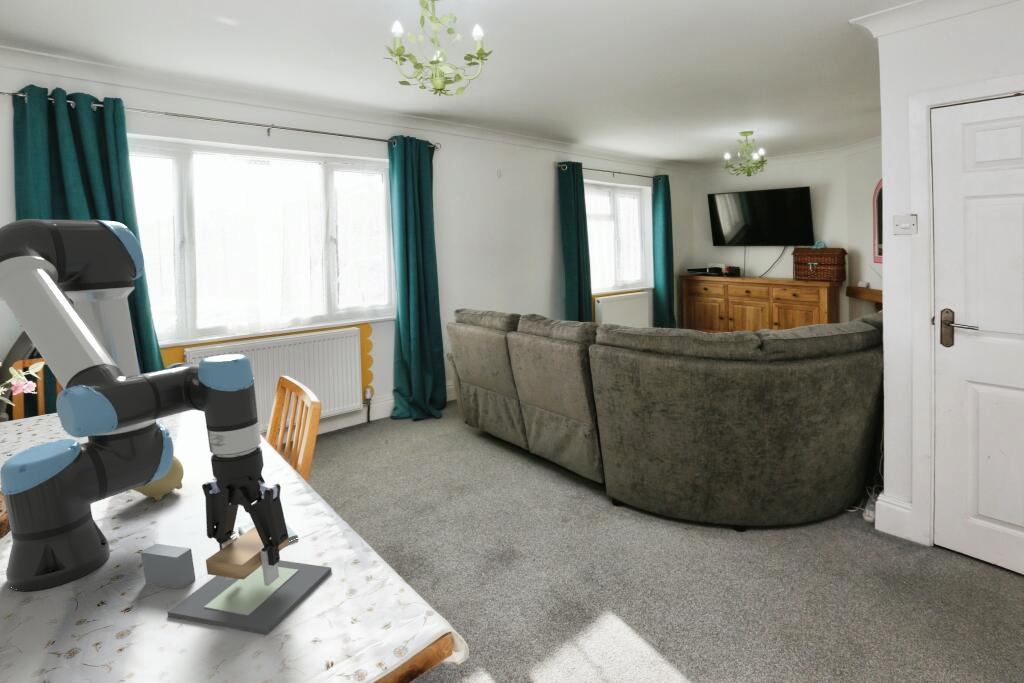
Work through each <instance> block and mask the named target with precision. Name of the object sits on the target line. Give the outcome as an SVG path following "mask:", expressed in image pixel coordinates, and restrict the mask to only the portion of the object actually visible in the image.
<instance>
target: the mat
mask: <svg viewBox="0 0 1024 683" xmlns="http://www.w3.org/2000/svg"><path fill="white" fill-rule="evenodd" d="M278 571H279V577H278V578H277V579H276V580H275V581H274V582H273V583H271V584H270V585H269V586H265V585H264V577H263V569H262V565H261V566H260V567H259V568H258V569H256V570H255V571H254V572H253V573H251V574H250V575H249V576H248V577H246V578H245V579H244V580H243V579H236V578H232V579H231V580H226V577H223V576H216V575H214V576H213V578H212V579H210V580H209V581H207V582H206V583H204V584H203V585H202V586H200V587H199V588H197V589H195V591H194V592H192V593H191V594H190V595H188V596H187V597H185V598H184V599H182V600H181V601H180V602H179V603H177V604H175V605H174V606H173V607H171V609H169V610H168V611H167V617H168V618H174V619H175V618H176V619H180V620H186V621H189V622H197V623H201V624H207V625H214V626H219V627H223V628H230V629H233V630H234V629H235V630H238V631H239V630H240V631H245V632H250V633H251V632H252V633H257V634H262V635H268V634H269V633H270V632H271V631H272V630H273V629H275V627H276V626H277V625H279V623H281V621H282V620H284V619H285V617H287V616H288V615H289V613H291V612H292V610H294V609H295V608H296V607H297V606H298V605H299V604H300V603H301V602H302V601H303V600H304V599H305V598H306V597H307V596H308V595H309V594H310V593H311V592H312V591H314V589H315V588H317V587H318V585H319V584H320V583H321V582H323V581H324V579H325V578H327V577H328V576H329V575H330V572H331V571H332V567H330V566H323V565H317V564H308V563H302V562H296V561H295V562H294V561H288V560H287V561H286V560H282V559H281V560H279V562H278Z"/></svg>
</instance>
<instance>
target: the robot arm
mask: <svg viewBox="0 0 1024 683" xmlns="http://www.w3.org/2000/svg"><path fill="white" fill-rule="evenodd" d="M144 267H145V260H144V255H143V251H142V248H141V245H140V243H139V241H138V239H137V238H136V236H135V234H134V233H133V232H132V231H131V230H130V229H129V227H128V226H126V225H125V224H123V223H121V222H118V221H113V220H112V221H111V220H100V219H96V218H95V219H39V218H27V219H26V218H24V219H19V220H16V221H12V222H10V223H8V224H5V225H2V226H1V227H0V301H3V302H5V304H6V305H7V306H8V308H9V310H10V311H11V312H12V314H13V315H14V318H16V320H17V321H18V323H19V324H20V326H21V328H22V329H23V331H24V332H25V333H26V336H28V338H29V340H30V341H31V343H32V344H33V345H34V347H35V349H36V350H37V351H38V354H40V356H41V357H42V359H43V360H44V362H45V364H46V365H47V366H48V368H49V370H50V371H51V373H52V374H53V376H54V377H55V378H56V380H57V382H58V383H59V385H60V386H61V388H62V390H61V391H60V392H59V393H58V395H57V398H56V405H55V407H56V413H57V418H59V421H60V425H61V427H62V428H63V430H64V431H65V433H67V434H68V435H70V436H71V437H74V438H77V439H78V438H79V439H81V438H87V442H84V443H80V442H79V441H78V440H77V439H73V438H72V439H71V438H66V439H64V438H63V439H58V440H55V441H48V442H45V443H40V444H38V445H36V446H33V447H30V448H27V449H25V450H22V451H20V452H19V453H16V454H15V455H12V457H10V458H9V459H7V460H6V461H5V462H4V463H3V464H2V466H1V468H0V485H1V487H0V491H1V493H2V494H3V500H4V504H5V508H6V513H7V518H8V523H9V528H10V532H11V538H12V544H11V548H10V554H9V558H8V563H7V568H6V571H5V574H6V581H7V586H8V585H9V586H10V587H12V588H14V589H17V590H16V591H19V590H32V591H37V590H38V591H39V590H44V588H45V589H49V588H53V587H57V586H60V585H63V584H66V583H69V582H71V581H74V580H77V579H79V578H81V577H83V576H85V575H87V574H89V573H91V572H93V571H95V570H96V569H98V568H99V567H100V566H102V565H103V564H104V563H105V562H106V561H107V560H108V559H109V557H110V555H111V551H110V550H111V548H110V544H109V540H108V539H107V537H106V536H105V535H104V533H103V532H102V531H101V529H100V527H99V526H98V524H97V522H96V521H95V520H94V518H93V514H92V513H93V512H92V506H91V505H92V504H93V503H96V502H100V501H103V500H105V499H108V498H112V497H115V496H117V495H119V494H122V493H125V492H128V491H131V490H132V489H134V488H137V487H142V486H145V485H148V484H149V483H151V482H153V481H156V480H158V479H161V478H162V477H164V476H165V475H166V474H167V473H168V471H169V470H170V468H171V465H172V462H173V456H174V452H175V450H174V443H173V439H172V437H171V436H170V431H169V430H168V429H167V427H166V426H165V425H164V424H160V423H157V420H158V419H162V418H165V417H166V418H167V417H169V416H175V415H177V414H181V413H184V412H189V411H194V410H195V411H200V412H203V413H204V418H205V419H204V420H205V424H206V430H207V431H206V432H207V437H208V438H207V440H208V446H209V452H210V453H211V456H210V462H211V463H210V464H211V469H212V470H211V471H212V476H213V477H214V478H213V479H212V478H211V479H210V480H209V481H207V482H205V483H203V484H202V486H201V487H202V491H203V494H204V497H205V515H206V516H205V517H206V518H205V519H206V520H205V521H206V536H207V538H208V539H211V540H212V538H214V539H215V540H216V542H217V543H218V544H219V546H218V547H219V551H220V550H221V549H222V548H224V547H226V546H227V545H228V544H230V543H231V542H233V541H234V540H236V539H237V538H238V536H234V534H236V531H235V524H236V519H237V514H238V510H239V506H242V507H243V509H244V511H245V512H246V513H247V514H249V516H250V518H251V521H252V522H253V523H254V525H255V528H256V530H257V532H258V534H259V536H260V539H261V541H262V543H263V545H264V547H262V548H261V549H260V553H261V561H262V569H263V577H264V585H265V586H269V585H270V584H271V583H273V582H274V581H275V580H276V579H277V578H278V577H279V571H278V562H279V560H280V559H281V558H280V551H279V545H280V544H282V543H283V542H284V541H285V540H287V539H288V532H287V527H286V524H287V522H286V519H285V516H284V511H283V510H284V509H283V506H282V502H281V501H282V500H281V498H280V497H281V485H280V484H279V483H275V484H273V485H271V484H268V483H266V481H265V479H264V477H263V475H262V471H263V469H264V457H263V449H262V447H261V446H260V445H261V443H262V440H261V433H260V432H261V431H260V425H259V420H258V419H259V418H258V408H257V407H258V406H257V396H256V391H255V390H256V387H255V377H254V374H253V370H252V364H251V361H250V358H249V357H248V356H247V355H244V354H239V353H235V354H230V353H229V354H221V355H219V354H218V355H213V356H209V357H206V358H203V359H201V360H200V362H199V363H196V362H187V361H185V362H175V363H172V364H170V365H168V366H167V367H165V368H164V369H161V370H157V371H156V370H155V371H151V372H150V371H149V372H146V373H140V368H139V362H138V356H137V350H136V342H135V338H134V333H133V332H134V331H133V325H132V319H131V312H130V309H129V308H130V307H129V301H128V297H129V295H130V294H131V293H132V292H133V291H134V290H135V288H136V287H135V284H134V283H135V281H134V280H137V279H140V277H142V275H143V273H144ZM285 522H286V523H285ZM270 537H271V539H270ZM231 579H232V578H229V577H226V580H231ZM9 586H8V587H9ZM10 587H9V588H10ZM12 588H11V589H12ZM14 589H13V590H14Z"/></svg>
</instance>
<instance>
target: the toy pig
mask: <svg viewBox="0 0 1024 683" xmlns="http://www.w3.org/2000/svg"><path fill="white" fill-rule="evenodd" d="M183 478H184V466H183V464H182V463H181V461H180V460H179V459H178V458H177V457H176V455H175V456H174V455H173V462H172V465H171V468H170V470H169V471H168V473H167V474H166V475H165V476H164V477H162V478H161V479H158V480H156V481H153V482H151V483H149V484H148V485H145V486H142V487H137V488H134V489H131V490H132V491H134V492H138V493H140V494H142V495H143V496H145V497H147V498H148V497H149V498H154V499H155V500H156V501H157V502H158V501H159V502H160V501H161V500H162V499H163V497H164V496H165V495H167V494H169V493H171V492H173V491H174V490H175V489H176V490H181V489H182V488H183V483H182V482H183Z"/></svg>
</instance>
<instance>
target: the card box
mask: <svg viewBox="0 0 1024 683" xmlns="http://www.w3.org/2000/svg"><path fill="white" fill-rule="evenodd" d="M287 532H288V531H287ZM270 539H271V537H270ZM289 544H290V542H289V539H287V540H285V541H284V542H283V543H282V544H280V545H279V552H281V551H282V550H283V549H284V548H286V547H287V546H288V545H289ZM262 547H264V545H263V543H262V541H261V539H260V536H259V534H258V532H257V530H256V528H255V527H253V528H252V529H250V530H249V531H247V532H246V533H244V534H243V535H241V534H240V536H239V537H237V539H236V540H234V541H233V542H231V543H230V544H228V545H227V546H226V547H224V548H222V549H221V550H220V549H219V550H218V551H216V552H215V553H214V554H212V555H210V557H207V558H206V559H205V565H206V566H205V567H206V572H207V575H211V576H223V577H229V578H236V579H243V580H244V579H245V578H246V577H248V576H249V575H250V574H251V573H253V572H254V571H255V570H256V569H258V568H259V567H260V566H261V565H262V561H261V553H260V549H261V548H262Z"/></svg>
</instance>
